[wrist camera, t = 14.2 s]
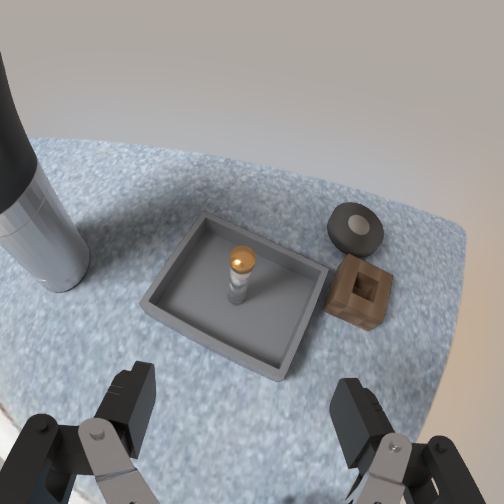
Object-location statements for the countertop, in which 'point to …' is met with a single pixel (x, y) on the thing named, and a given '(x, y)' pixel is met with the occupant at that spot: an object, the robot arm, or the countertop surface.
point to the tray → (246, 314)
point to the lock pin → (240, 273)
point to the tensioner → (357, 268)
